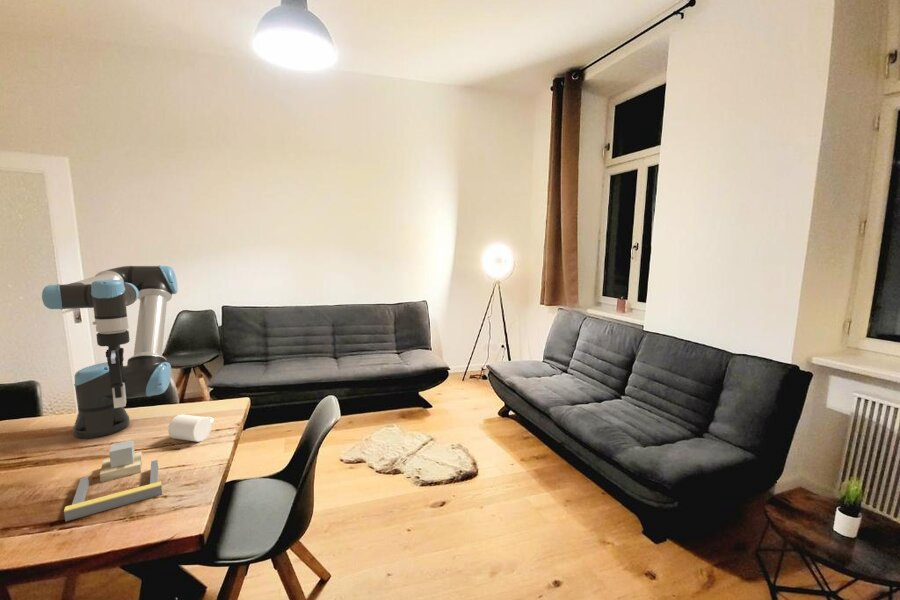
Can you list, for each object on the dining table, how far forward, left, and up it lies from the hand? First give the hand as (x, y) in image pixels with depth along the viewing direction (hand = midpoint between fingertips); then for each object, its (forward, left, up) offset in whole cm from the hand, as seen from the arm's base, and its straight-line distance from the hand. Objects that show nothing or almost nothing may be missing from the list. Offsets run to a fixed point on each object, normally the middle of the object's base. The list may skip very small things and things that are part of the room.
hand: (120, 405), depth 124 cm
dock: (+22, 0, -16) cm, 27 cm away
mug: (-2, +19, -17) cm, 25 cm away
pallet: (+10, 0, -17) cm, 20 cm away
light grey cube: (+10, 0, -14) cm, 17 cm away
